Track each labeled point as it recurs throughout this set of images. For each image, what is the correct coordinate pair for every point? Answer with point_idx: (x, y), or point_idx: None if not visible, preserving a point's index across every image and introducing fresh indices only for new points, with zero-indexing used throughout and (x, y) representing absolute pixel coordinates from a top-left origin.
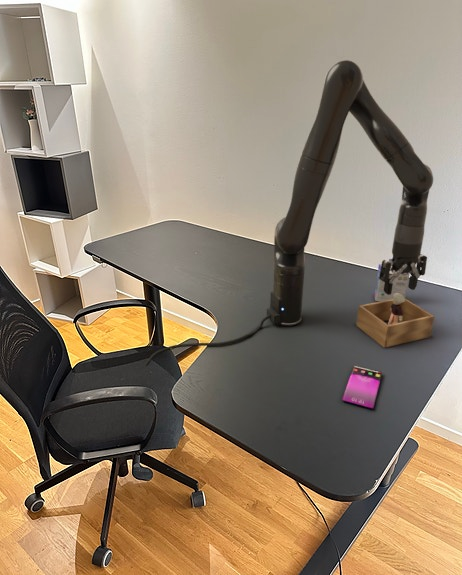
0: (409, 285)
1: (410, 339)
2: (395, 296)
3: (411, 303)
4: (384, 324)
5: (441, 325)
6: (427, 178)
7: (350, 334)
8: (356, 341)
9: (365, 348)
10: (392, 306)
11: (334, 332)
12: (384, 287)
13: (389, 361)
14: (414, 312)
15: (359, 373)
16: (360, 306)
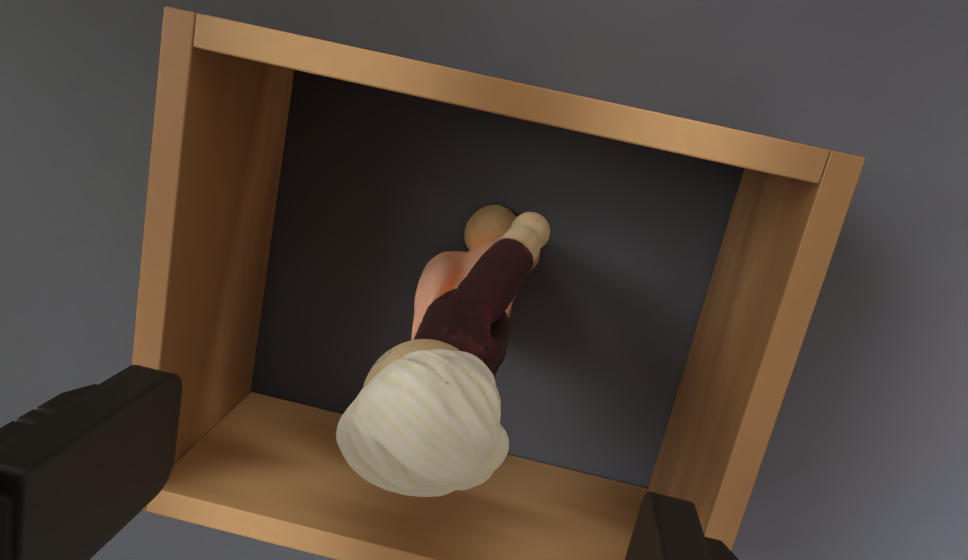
0: (643, 536)
1: None
2: (339, 436)
3: (775, 340)
4: None
5: (933, 464)
6: None
7: (130, 120)
8: (105, 226)
9: (102, 333)
10: (422, 322)
11: (28, 15)
12: (20, 429)
13: (141, 524)
14: (725, 383)
15: None
16: (166, 33)
